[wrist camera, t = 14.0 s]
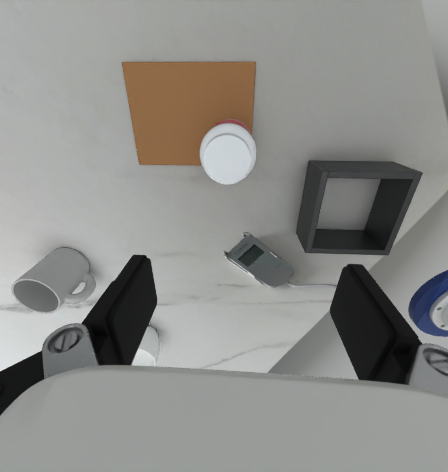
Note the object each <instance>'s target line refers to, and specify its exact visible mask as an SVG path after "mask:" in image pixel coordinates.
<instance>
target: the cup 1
mask: <svg viewBox="0 0 448 472" xmlns="http://www.w3.org/2000/svg"><path fill="white" fill-rule="evenodd" d="M89 269H90V267H89V263H88V261H87V259H86V258H85V257H84V256H83V255H82V254H81V253H80V252H78V251H76V250H74V249H70V248H58V249H56V250H54V251H53V252H51V253H50V254H49V255H47V256H46V257H45V258H44V259H43V260H41V261H40V262H39V263H38V264H36V265H35V266H34V267H33V268H31V269H30V270H29V271H28V272H26V273H25V274H24V275H23V276H21V277H20V278H19V279H18V280H16V281H15V282H14V283H13V285H12V288H11V289H12V294H13V296H14V297H15V299H16V300H17V301H18V302H19V303H20V304H21V305H23V306H24V307H26V308H27V309H30V310H32V311H34V312H38V313H45V314H47V313H53V312H55V311H57V310H58V309H59V308H60V306H61V305H62V304H63V303H67V304H76V303H80V302H82V301H84V300H85V299H87V298H88V297H89V296H90V295H91V294H92V293H93V291H94V289H95V287H96V281H95V279H94V277H93V276H92V275H90V274H88V273H89ZM81 282H85V283H86V286H85V288H84V289H83V290H82V291H81V292H80V293H78V294H72V293H73V292H74V290H75V289H76V288H77V287H78V286H79V284H80V283H81Z"/></svg>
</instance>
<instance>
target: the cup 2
mask: <svg viewBox="0 0 448 472" xmlns="http://www.w3.org/2000/svg"><path fill="white" fill-rule="evenodd" d="M159 347H160V344H159V337H158V334H157V332H156V330H155V329H154V328H153V327H150V326H148V327H147V329H146V331H145V334H144V336H143V339H142V341H141V343H140V346H139V348H138V350H137V353H136V355H135V358H134V360H133V362H132V365H133V366H155V365H156V362H157V359H158V355H159Z"/></svg>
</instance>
